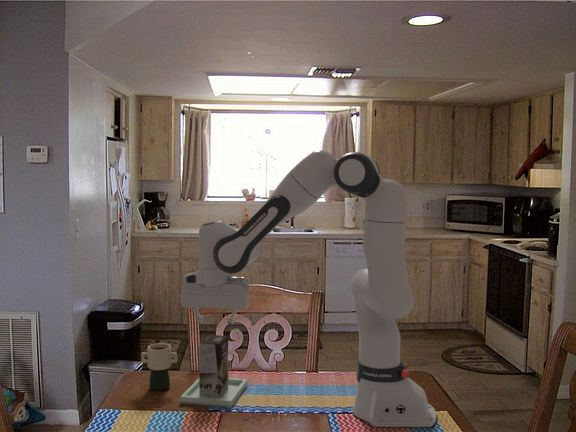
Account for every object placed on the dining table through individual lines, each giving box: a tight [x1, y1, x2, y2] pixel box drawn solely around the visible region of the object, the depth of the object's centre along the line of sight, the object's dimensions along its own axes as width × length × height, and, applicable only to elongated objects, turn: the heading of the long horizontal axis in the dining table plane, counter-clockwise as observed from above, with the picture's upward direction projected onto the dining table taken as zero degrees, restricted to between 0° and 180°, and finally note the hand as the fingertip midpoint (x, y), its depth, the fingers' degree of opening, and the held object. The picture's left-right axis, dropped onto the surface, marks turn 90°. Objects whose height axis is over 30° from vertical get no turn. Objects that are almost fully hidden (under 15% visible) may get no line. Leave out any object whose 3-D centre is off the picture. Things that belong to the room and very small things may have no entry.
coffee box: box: [198, 334, 229, 398], centre depth 172 cm, size 9×6×16 cm
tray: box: [179, 377, 248, 409], centre depth 173 cm, size 15×17×2 cm
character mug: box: [140, 342, 178, 391], centre depth 177 cm, size 11×7×13 cm, turn 91°
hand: (215, 322), depth 171 cm, fingers open, 8 cm apart
